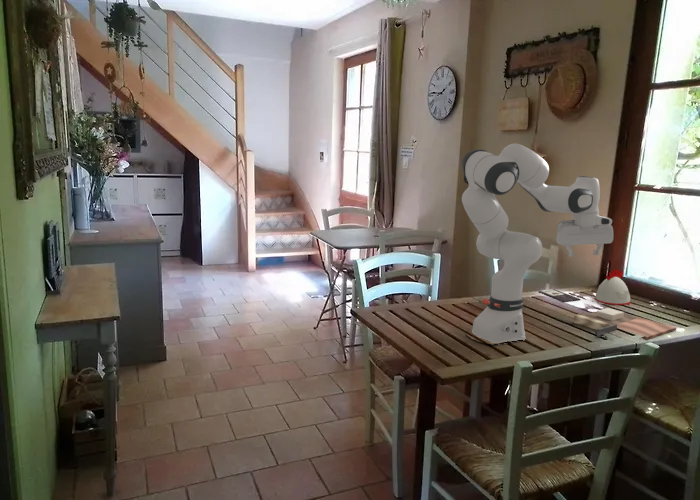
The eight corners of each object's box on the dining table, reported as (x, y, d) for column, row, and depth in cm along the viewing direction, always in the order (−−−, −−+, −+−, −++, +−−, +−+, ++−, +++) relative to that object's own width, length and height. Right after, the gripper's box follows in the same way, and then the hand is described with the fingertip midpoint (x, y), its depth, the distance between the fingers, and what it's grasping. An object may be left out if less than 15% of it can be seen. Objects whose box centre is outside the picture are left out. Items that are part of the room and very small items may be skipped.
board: (647, 339, 187) (647, 336, 187) (579, 318, 211) (579, 316, 211) (676, 330, 196) (676, 327, 196) (608, 310, 220) (608, 308, 220)
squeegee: (566, 326, 203) (567, 316, 202) (584, 322, 208) (584, 312, 207) (599, 337, 191) (599, 327, 190) (616, 332, 195) (617, 322, 195)
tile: (612, 320, 205) (612, 315, 204) (596, 315, 211) (596, 310, 210) (623, 317, 208) (624, 312, 208) (607, 312, 214) (608, 307, 214)
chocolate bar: (563, 301, 233) (538, 291, 250) (563, 303, 233) (538, 293, 250) (580, 299, 235) (554, 289, 252) (580, 301, 236) (554, 291, 253)
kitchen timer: (637, 305, 226) (640, 271, 223) (610, 308, 223) (612, 274, 220) (614, 297, 239) (616, 265, 236) (588, 299, 236) (590, 267, 233)
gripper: (560, 221, 193) (559, 258, 196) (616, 219, 193) (614, 256, 195) (554, 219, 199) (553, 254, 202) (608, 217, 199) (606, 252, 202)
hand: (583, 255), depth 199 cm, fingers open, 8 cm apart
